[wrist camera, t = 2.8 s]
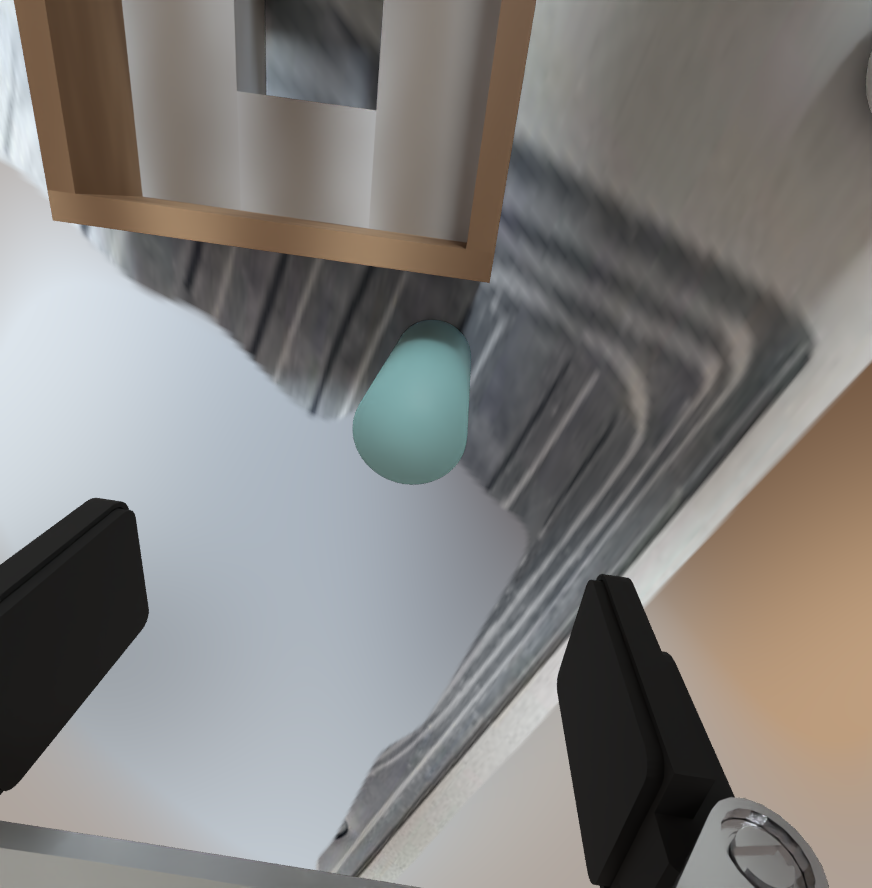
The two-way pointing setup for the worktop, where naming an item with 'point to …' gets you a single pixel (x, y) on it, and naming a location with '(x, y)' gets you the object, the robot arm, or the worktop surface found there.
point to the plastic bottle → (869, 82)
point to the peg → (417, 406)
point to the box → (279, 130)
